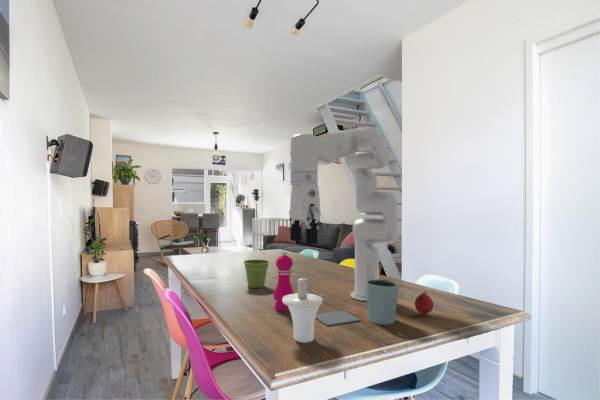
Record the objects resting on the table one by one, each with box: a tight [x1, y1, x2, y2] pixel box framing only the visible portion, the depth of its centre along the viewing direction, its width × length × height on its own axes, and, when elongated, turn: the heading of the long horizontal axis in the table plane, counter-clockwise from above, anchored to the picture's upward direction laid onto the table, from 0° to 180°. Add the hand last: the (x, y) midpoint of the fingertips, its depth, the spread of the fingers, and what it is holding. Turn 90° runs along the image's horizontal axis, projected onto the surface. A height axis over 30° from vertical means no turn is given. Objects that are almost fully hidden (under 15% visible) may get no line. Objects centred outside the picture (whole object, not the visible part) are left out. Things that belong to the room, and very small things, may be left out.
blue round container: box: [366, 278, 400, 326], centre depth 106 cm, size 10×10×12 cm
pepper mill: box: [273, 251, 295, 312], centre depth 117 cm, size 7×7×20 cm
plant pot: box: [243, 258, 271, 289], centre depth 148 cm, size 12×12×11 cm
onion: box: [414, 291, 434, 317], centre depth 111 cm, size 6×6×8 cm
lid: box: [282, 277, 324, 308], centre depth 90 cm, size 11×11×6 cm
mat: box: [315, 310, 361, 327], centre depth 106 cm, size 12×10×1 cm
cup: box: [288, 305, 320, 344], centre depth 90 cm, size 9×9×10 cm
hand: (303, 242), depth 91 cm, fingers open, 9 cm apart
